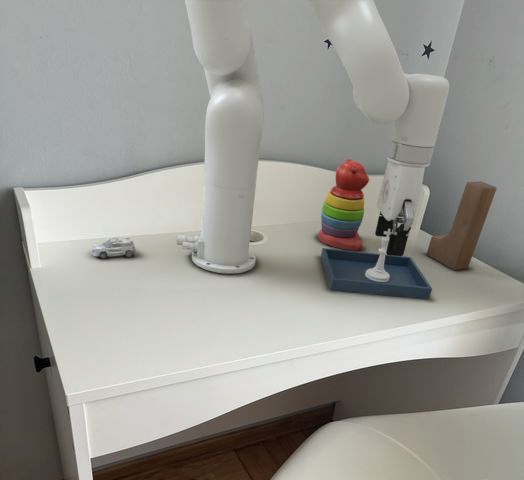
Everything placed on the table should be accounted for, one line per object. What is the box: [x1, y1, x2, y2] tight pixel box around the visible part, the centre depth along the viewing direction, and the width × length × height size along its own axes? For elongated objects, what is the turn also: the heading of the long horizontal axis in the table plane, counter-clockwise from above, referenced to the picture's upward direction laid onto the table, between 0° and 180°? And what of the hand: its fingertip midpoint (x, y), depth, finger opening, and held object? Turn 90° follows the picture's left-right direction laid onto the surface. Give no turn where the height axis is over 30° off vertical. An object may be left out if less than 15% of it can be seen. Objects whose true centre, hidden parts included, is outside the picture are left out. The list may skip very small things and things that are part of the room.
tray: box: [320, 247, 433, 300], centre depth 104 cm, size 19×15×2 cm
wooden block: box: [426, 181, 497, 271], centre depth 112 cm, size 9×4×18 cm, turn 29°
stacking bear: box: [317, 158, 370, 252], centre depth 115 cm, size 11×10×18 cm
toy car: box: [91, 237, 136, 260], centre depth 98 cm, size 4×8×3 cm, turn 114°
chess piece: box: [365, 229, 393, 282], centre depth 101 cm, size 5×5×10 cm
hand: (388, 245), depth 100 cm, fingers open, 9 cm apart
